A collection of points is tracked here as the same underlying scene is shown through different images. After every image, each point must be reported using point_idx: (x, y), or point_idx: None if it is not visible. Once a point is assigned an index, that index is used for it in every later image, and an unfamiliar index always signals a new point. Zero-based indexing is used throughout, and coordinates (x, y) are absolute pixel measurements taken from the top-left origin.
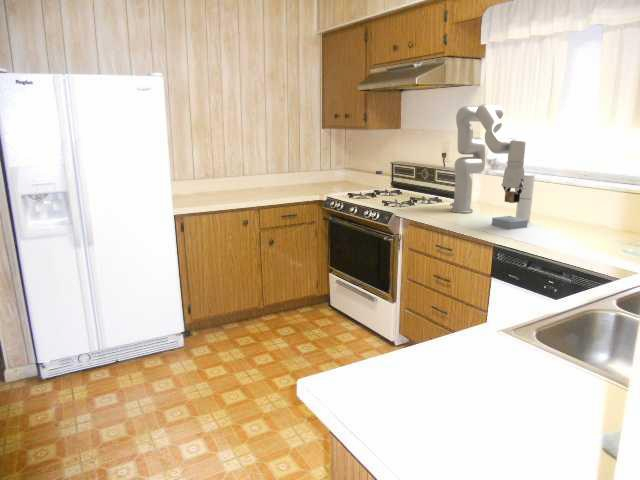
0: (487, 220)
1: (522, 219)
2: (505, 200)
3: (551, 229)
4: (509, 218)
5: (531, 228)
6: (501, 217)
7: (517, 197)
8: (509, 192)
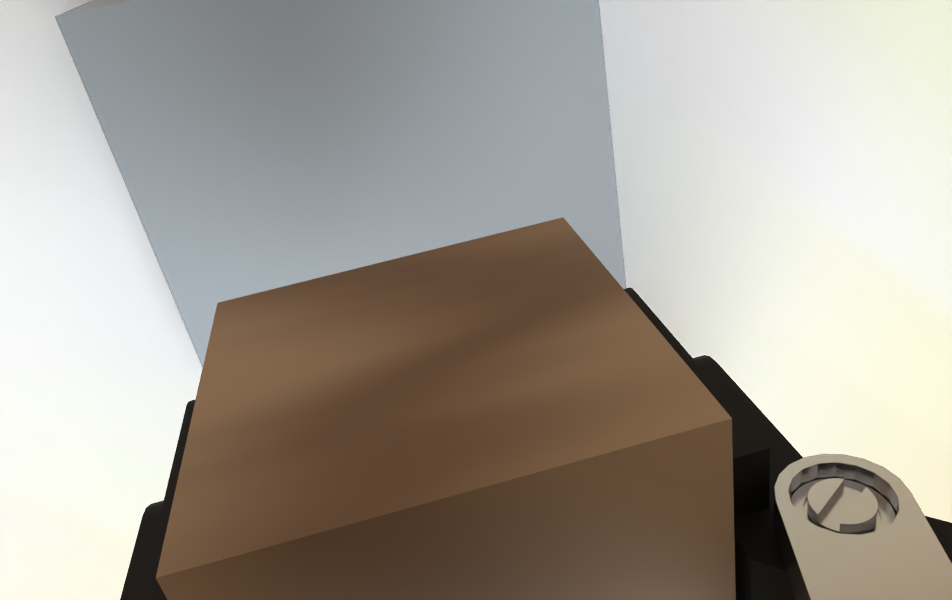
0: (843, 50)
1: None
2: (533, 245)
3: (47, 592)
4: (433, 224)
5: (135, 389)
6: (558, 127)
7: (130, 580)
8: (433, 505)
